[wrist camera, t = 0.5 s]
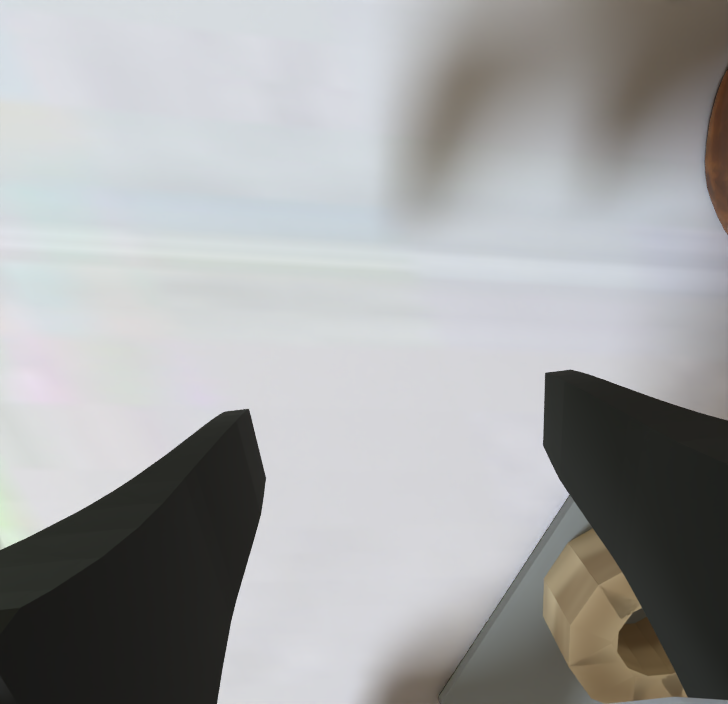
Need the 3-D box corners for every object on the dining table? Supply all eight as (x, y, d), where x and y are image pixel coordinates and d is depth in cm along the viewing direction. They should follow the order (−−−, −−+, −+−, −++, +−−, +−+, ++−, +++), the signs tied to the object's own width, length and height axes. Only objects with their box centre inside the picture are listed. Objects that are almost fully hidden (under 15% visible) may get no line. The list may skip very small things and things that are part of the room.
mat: (662, 777, 29) (668, 786, 28) (438, 696, 27) (440, 705, 26) (851, 551, 25) (861, 558, 24) (607, 436, 23) (613, 441, 22)
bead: (648, 678, 26) (685, 734, 23) (512, 625, 25) (534, 676, 22) (744, 554, 24) (798, 598, 21) (602, 490, 23) (639, 527, 20)
